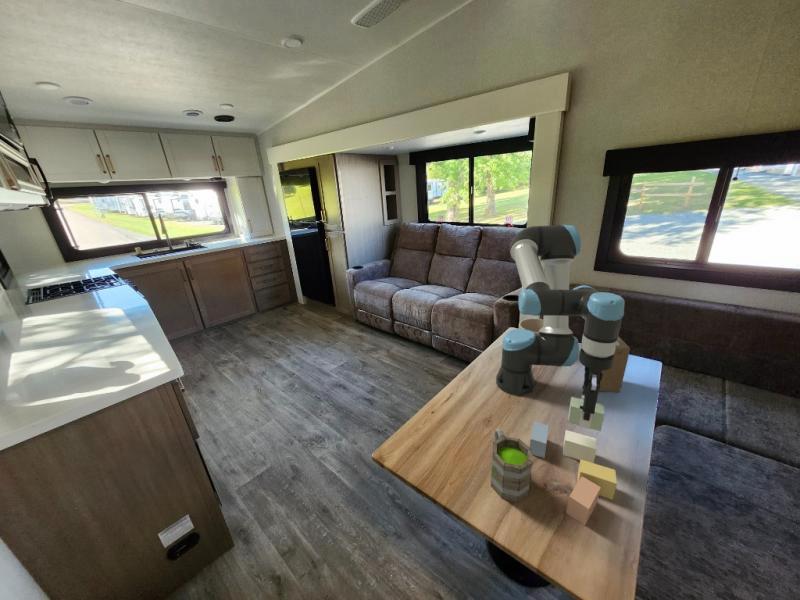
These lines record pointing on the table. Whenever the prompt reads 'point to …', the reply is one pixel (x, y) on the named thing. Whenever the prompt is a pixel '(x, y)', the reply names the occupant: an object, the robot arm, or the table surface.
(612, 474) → the ochre brick
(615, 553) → the table surface
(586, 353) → the robot arm
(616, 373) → the wooden block
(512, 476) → the mug
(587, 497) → the terracotta brick
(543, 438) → the slate brick
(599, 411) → the sage brick
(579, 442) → the cream brick
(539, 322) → the planter
